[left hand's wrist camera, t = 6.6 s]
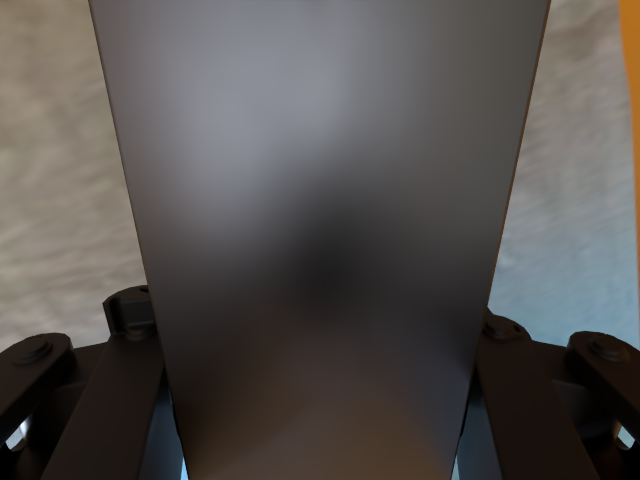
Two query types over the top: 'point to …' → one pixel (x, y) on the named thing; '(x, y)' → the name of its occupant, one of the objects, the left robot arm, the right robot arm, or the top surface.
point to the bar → (319, 217)
